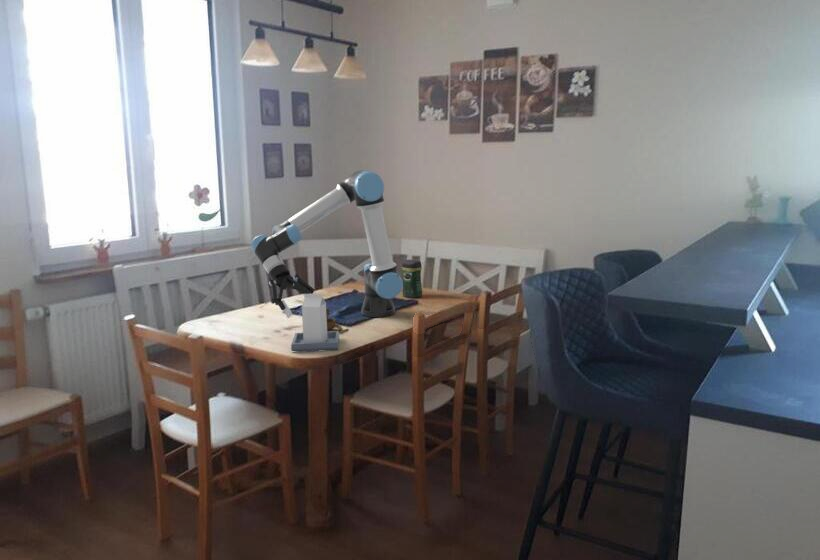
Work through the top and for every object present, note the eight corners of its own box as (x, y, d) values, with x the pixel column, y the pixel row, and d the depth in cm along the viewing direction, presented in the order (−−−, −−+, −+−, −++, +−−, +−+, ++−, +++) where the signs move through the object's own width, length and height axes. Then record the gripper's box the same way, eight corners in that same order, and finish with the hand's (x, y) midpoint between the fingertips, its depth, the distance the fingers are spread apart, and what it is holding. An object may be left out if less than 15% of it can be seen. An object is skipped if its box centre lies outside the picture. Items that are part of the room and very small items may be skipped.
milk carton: (321, 345, 243) (319, 296, 239) (303, 345, 244) (301, 296, 240) (327, 340, 250) (325, 292, 246) (310, 339, 251) (307, 291, 247)
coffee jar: (424, 296, 325) (424, 259, 321) (415, 299, 319) (414, 262, 315) (409, 293, 331) (409, 257, 327) (400, 296, 324) (399, 260, 321)
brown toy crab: (300, 333, 265) (300, 319, 264) (324, 321, 283) (324, 308, 282) (338, 337, 258) (338, 323, 257) (360, 324, 277) (360, 311, 275)
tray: (339, 338, 255) (338, 331, 255) (337, 350, 241) (337, 342, 240) (295, 340, 254) (295, 332, 253) (291, 352, 239) (291, 344, 239)
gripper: (296, 270, 267) (323, 311, 260) (246, 280, 248) (273, 324, 242) (304, 258, 262) (331, 300, 256) (254, 268, 243) (282, 313, 237)
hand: (303, 312), depth 249 cm, fingers open, 13 cm apart
